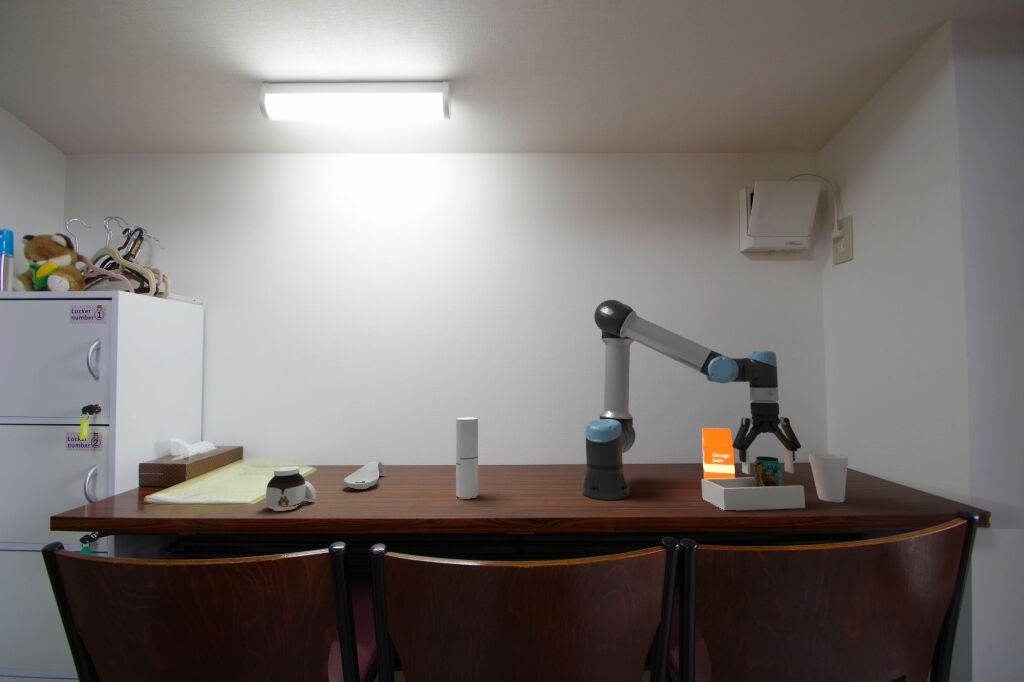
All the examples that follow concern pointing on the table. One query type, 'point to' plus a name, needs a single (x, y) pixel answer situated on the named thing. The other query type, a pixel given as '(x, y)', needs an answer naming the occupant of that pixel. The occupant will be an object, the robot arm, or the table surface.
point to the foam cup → (829, 475)
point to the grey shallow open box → (750, 494)
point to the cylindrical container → (466, 457)
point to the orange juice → (717, 453)
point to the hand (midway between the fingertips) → (767, 472)
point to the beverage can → (767, 472)
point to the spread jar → (288, 488)
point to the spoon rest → (365, 475)
